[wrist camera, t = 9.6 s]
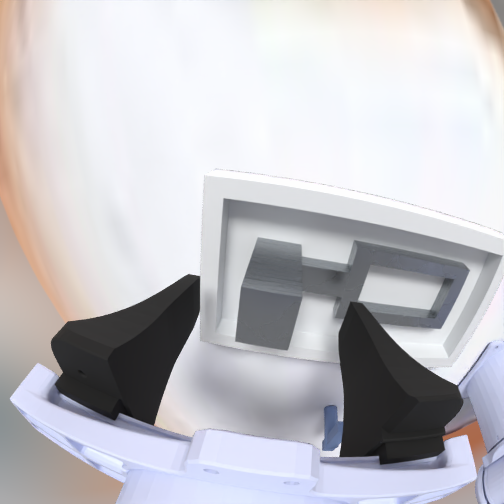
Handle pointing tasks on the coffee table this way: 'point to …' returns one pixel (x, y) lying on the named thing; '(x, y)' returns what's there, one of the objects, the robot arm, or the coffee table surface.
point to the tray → (340, 261)
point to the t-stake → (332, 429)
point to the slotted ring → (332, 288)
